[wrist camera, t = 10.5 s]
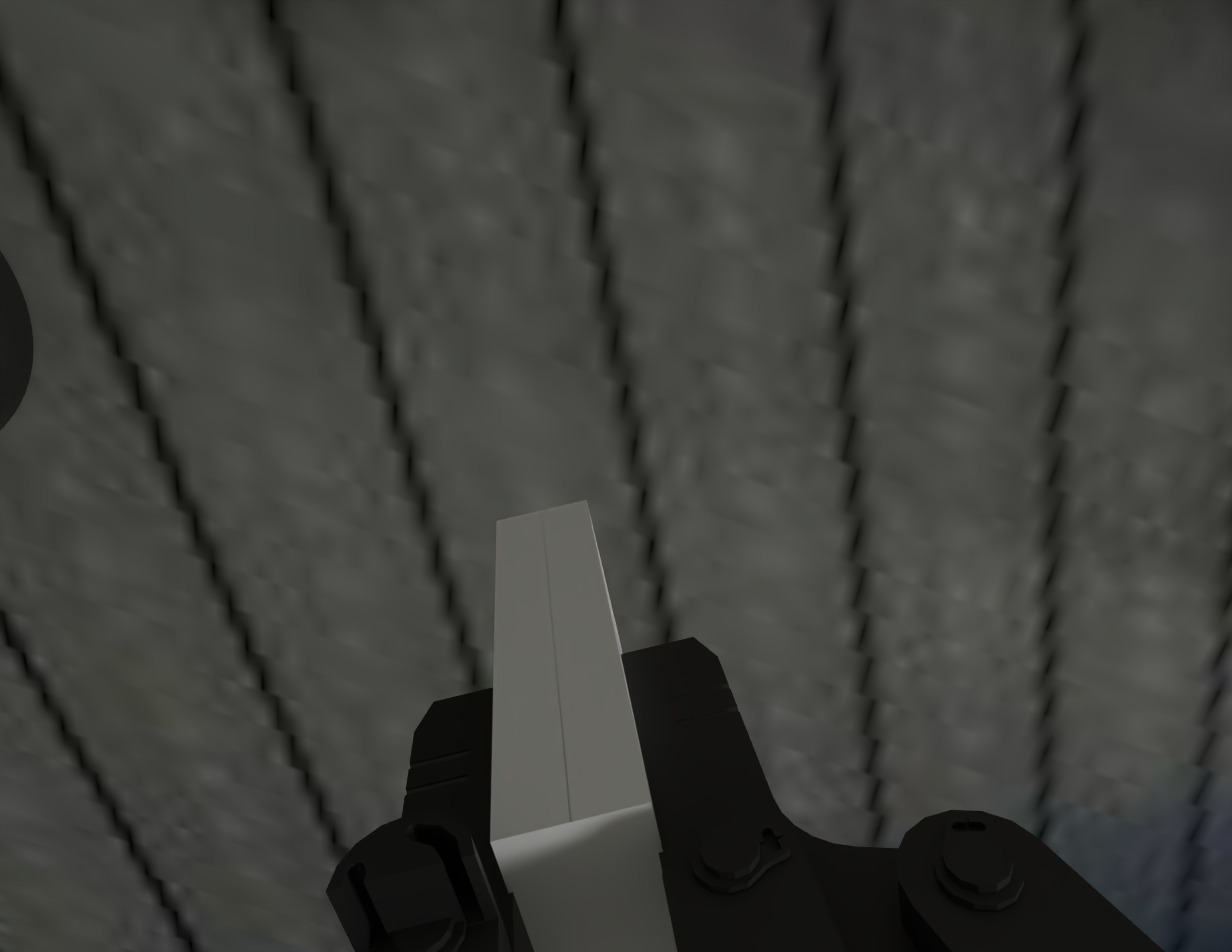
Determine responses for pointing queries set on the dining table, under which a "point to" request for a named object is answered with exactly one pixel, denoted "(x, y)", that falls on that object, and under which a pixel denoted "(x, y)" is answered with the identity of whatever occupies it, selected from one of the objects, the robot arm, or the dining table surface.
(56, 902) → the dining table surface
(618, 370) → the dining table surface
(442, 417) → the dining table surface
